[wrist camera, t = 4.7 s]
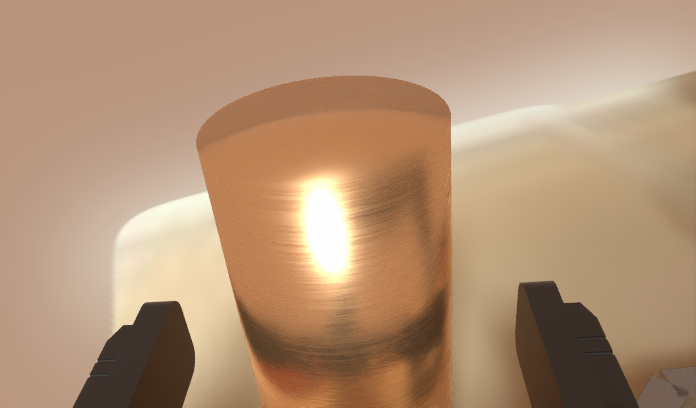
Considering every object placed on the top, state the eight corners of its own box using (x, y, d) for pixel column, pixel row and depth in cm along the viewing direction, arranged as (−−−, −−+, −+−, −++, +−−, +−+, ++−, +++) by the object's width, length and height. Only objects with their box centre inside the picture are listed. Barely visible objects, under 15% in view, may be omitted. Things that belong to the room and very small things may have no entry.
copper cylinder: (360, 392, 21) (320, 63, 15) (484, 471, 18) (500, 100, 12) (253, 496, 18) (145, 139, 12) (380, 612, 15) (327, 215, 9)
